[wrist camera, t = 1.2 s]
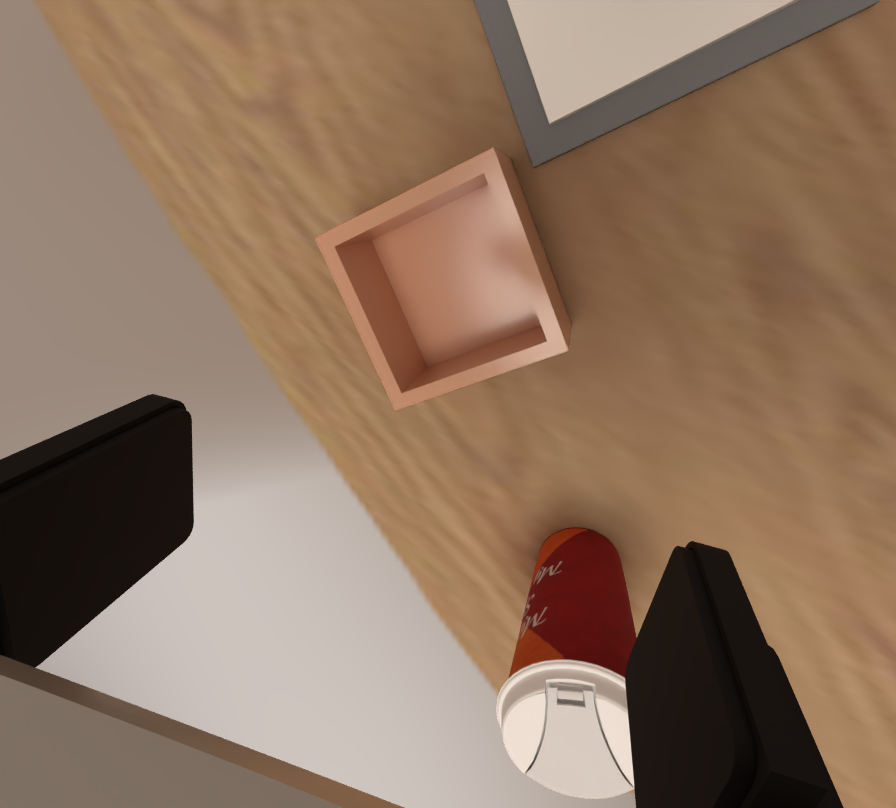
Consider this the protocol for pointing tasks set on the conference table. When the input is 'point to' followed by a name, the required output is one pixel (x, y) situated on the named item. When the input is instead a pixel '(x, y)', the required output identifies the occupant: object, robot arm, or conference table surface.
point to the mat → (814, 12)
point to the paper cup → (572, 671)
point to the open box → (449, 282)
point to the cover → (619, 41)
